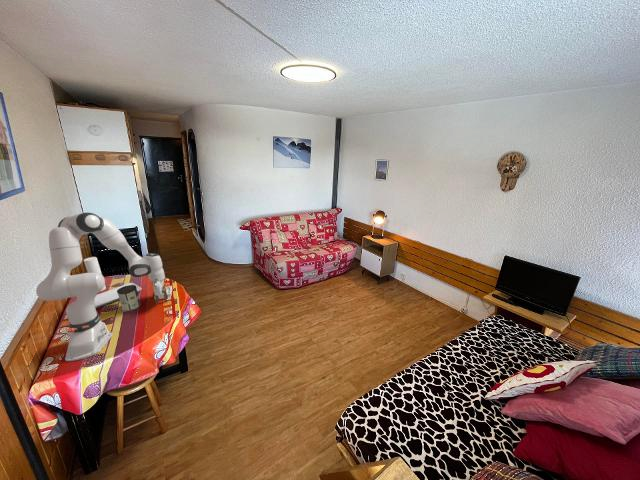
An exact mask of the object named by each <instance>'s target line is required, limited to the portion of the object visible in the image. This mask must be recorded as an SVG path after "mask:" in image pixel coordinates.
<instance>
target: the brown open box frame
mask: <svg viewBox="0 0 640 480" xmlns="http://www.w3.org/2000/svg"><path fill="white" fill-rule="evenodd" d="M166 287H167V286H166V285H165V286H164V285H163V288H162V289H163V290H162V292H163V294H164V298H163V299H164V301H165V303H168V299H169V297H168V296H167V292H166ZM153 294H154V295H155V293H154V292H153ZM155 298H156V300H155V301H156V305H159V304H160V300H161V299H159V297H158V295H157V296H156V295H155ZM155 298H154V299H155Z"/></svg>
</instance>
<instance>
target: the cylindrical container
mask: <svg viewBox="0 0 640 480" xmlns="http://www.w3.org/2000/svg"><path fill="white" fill-rule="evenodd" d="M83 259H84V260H83V262H84V265H85V269H86V273H100V274H101V275H102V276H103V273H102V271H101V267H100V264H99V261H98V258H97V257H96V256H91V257H90V256H89V257H87V258H83ZM106 288H107V287H106V284H105V285H104V287H103V288H102V290H100V291H99V292H100V293H101V292H103V291H104V290H106ZM99 292H98V293H99Z"/></svg>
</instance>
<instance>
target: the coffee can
mask: <svg viewBox="0 0 640 480" xmlns="http://www.w3.org/2000/svg"><path fill="white" fill-rule="evenodd" d="M117 293H118V296H119V302H120V305H121V309H122V311H123V312H124V313H126V312H130V311H135V310H136V309H138V308H140V306H141V305H142V304H141V303H142V302H141V300H140V297H139V293H138V292H137V288H136V286H135V285H128V286H124V287H121V288H120V289H118V290H117Z"/></svg>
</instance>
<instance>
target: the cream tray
mask: <svg viewBox="0 0 640 480" xmlns="http://www.w3.org/2000/svg"><path fill="white" fill-rule="evenodd" d="M165 287H166V292H167V296H168V298H171V297H172V293H173V286H172V285H169V286H165ZM161 295H162V298H160V300H161V299H165V298H164V294H161ZM153 298H154V300H155V301H156V298H155V294H154V296H153Z"/></svg>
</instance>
